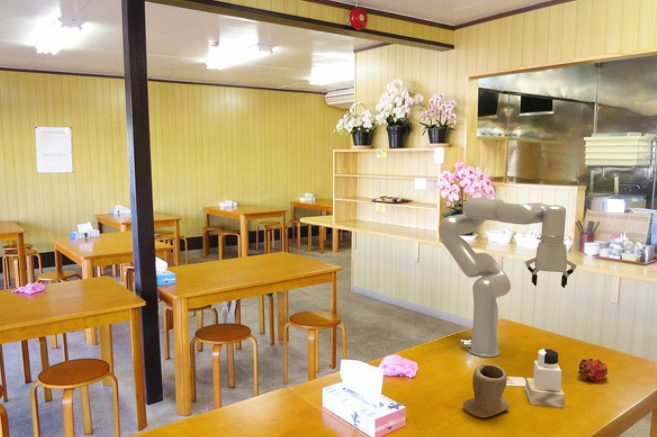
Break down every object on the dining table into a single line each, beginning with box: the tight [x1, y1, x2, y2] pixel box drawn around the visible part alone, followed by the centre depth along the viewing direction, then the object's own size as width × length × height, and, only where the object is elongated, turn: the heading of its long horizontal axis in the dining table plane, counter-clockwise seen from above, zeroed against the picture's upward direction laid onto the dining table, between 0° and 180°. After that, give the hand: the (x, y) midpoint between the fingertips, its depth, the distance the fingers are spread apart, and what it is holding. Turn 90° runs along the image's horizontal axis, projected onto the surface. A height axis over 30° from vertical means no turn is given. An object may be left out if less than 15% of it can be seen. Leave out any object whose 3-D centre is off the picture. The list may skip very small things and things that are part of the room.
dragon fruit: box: [578, 358, 608, 383], centre depth 181 cm, size 8×8×12 cm
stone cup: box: [462, 363, 511, 418], centre depth 157 cm, size 15×12×15 cm
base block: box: [524, 377, 566, 409], centre depth 166 cm, size 10×10×5 cm
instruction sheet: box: [506, 376, 526, 388], centre depth 179 cm, size 10×7×1 cm
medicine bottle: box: [533, 348, 562, 391], centre depth 165 cm, size 7×7×12 cm
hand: (548, 285), depth 182 cm, fingers open, 9 cm apart
